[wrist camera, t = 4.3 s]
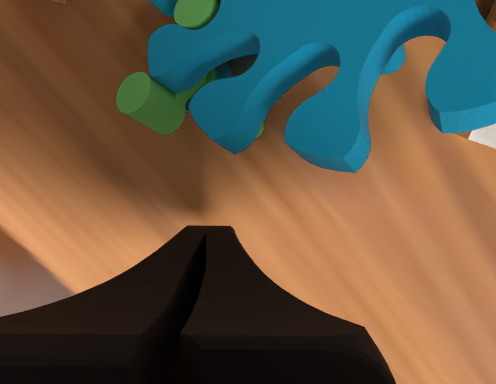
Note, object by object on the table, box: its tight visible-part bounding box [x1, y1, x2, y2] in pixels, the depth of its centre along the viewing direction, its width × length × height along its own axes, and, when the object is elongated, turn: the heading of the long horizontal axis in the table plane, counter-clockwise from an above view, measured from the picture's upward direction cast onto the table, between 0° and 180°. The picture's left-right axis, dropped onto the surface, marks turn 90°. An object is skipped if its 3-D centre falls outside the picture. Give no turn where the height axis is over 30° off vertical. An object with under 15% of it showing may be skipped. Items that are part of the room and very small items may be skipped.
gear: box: [116, 0, 496, 173], centre depth 10 cm, size 11×6×10 cm
